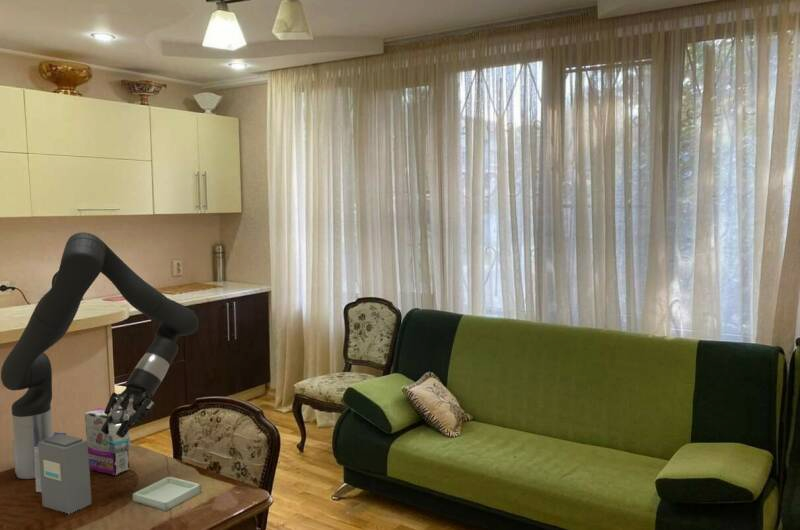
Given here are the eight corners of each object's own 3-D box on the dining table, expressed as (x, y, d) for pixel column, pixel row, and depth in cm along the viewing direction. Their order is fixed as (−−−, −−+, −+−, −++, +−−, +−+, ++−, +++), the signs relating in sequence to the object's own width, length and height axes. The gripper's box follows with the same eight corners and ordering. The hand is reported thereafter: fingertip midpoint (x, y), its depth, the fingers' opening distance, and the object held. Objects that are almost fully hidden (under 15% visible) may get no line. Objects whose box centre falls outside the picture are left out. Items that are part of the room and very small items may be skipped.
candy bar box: (130, 469, 179) (127, 412, 178) (115, 476, 175) (112, 417, 173) (102, 463, 184) (99, 407, 183) (87, 470, 180) (83, 412, 178)
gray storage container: (41, 506, 158) (36, 440, 156) (65, 496, 164) (60, 432, 162) (67, 515, 153) (63, 447, 152) (91, 503, 159) (87, 438, 157)
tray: (133, 501, 160) (132, 493, 160) (169, 483, 170) (168, 476, 170) (166, 511, 154) (165, 503, 154) (201, 491, 164) (201, 484, 164)
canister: (104, 450, 161) (103, 411, 161) (122, 444, 165) (121, 406, 165) (116, 454, 159) (114, 414, 158) (134, 448, 163) (132, 409, 162)
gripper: (176, 385, 169) (141, 446, 159) (137, 378, 175) (101, 436, 166) (159, 370, 163) (122, 432, 154) (120, 364, 170) (82, 423, 160)
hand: (111, 434), depth 160 cm, fingers closed on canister, 4 cm apart
